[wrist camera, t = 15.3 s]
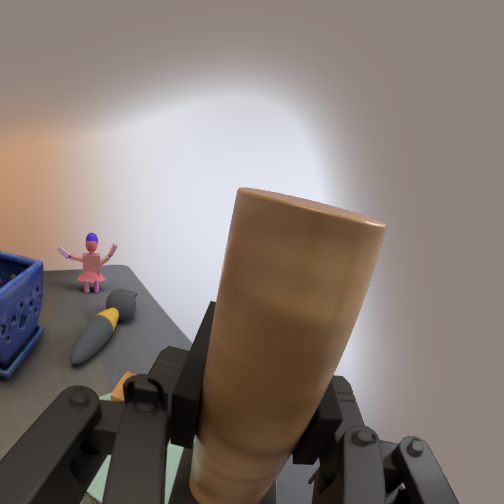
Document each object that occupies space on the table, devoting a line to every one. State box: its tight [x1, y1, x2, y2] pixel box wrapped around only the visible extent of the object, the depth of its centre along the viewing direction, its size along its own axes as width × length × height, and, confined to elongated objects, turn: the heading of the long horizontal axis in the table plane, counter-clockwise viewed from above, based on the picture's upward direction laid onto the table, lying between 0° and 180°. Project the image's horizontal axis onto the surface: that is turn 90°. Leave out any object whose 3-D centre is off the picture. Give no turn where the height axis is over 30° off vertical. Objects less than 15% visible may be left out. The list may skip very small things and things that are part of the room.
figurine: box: [57, 233, 118, 293], centre depth 45 cm, size 3×12×11 cm, turn 123°
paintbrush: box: [70, 289, 138, 365], centre depth 36 cm, size 20×5×5 cm, turn 2°
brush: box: [168, 188, 386, 504], centre depth 8 cm, size 5×5×16 cm
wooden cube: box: [110, 371, 136, 401], centre depth 23 cm, size 4×4×4 cm
